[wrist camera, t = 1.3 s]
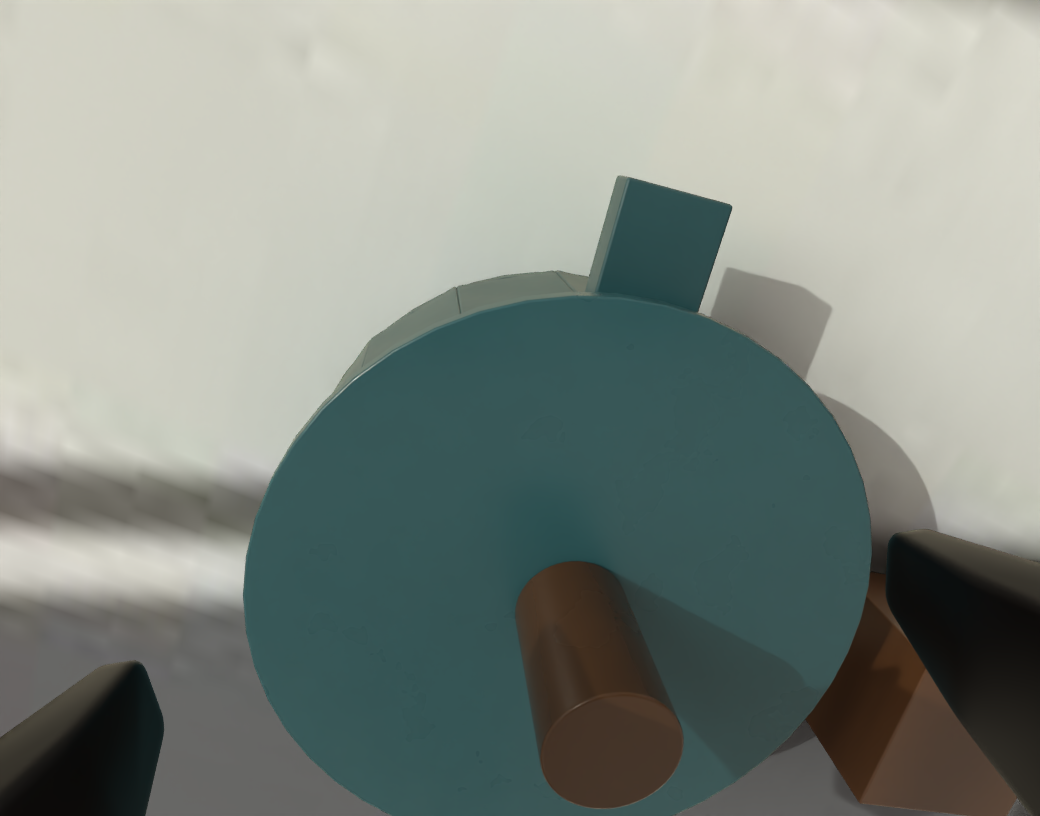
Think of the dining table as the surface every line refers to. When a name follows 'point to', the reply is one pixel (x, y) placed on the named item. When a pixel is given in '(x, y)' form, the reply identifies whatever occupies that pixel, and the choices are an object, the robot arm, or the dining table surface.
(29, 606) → the dining table surface
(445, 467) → the lid
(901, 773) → the block
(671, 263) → the pan
